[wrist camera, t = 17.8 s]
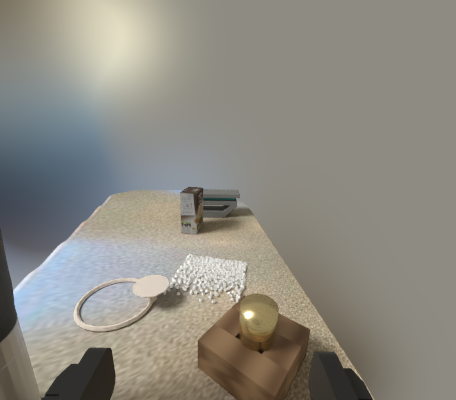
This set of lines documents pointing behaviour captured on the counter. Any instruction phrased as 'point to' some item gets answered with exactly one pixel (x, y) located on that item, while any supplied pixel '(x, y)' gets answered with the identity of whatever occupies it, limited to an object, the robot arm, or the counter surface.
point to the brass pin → (258, 322)
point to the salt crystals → (213, 266)
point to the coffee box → (191, 210)
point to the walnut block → (252, 358)
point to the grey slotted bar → (219, 202)
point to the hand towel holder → (142, 287)
